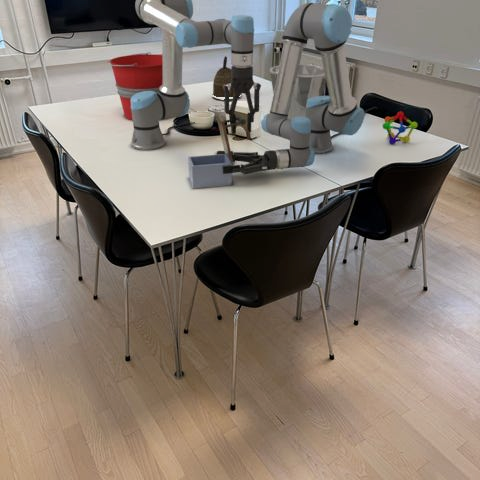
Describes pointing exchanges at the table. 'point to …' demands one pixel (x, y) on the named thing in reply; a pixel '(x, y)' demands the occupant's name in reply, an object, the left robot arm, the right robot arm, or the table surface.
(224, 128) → the lid
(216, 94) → the bell
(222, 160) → the chest
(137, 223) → the table surface
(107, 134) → the table surface
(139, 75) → the bucket
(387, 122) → the educational toy
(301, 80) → the bucket
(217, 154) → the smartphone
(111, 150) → the table surface
